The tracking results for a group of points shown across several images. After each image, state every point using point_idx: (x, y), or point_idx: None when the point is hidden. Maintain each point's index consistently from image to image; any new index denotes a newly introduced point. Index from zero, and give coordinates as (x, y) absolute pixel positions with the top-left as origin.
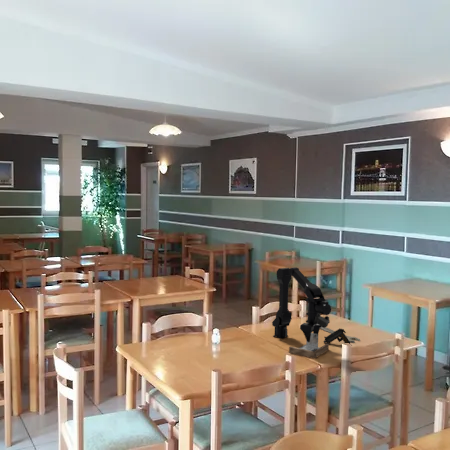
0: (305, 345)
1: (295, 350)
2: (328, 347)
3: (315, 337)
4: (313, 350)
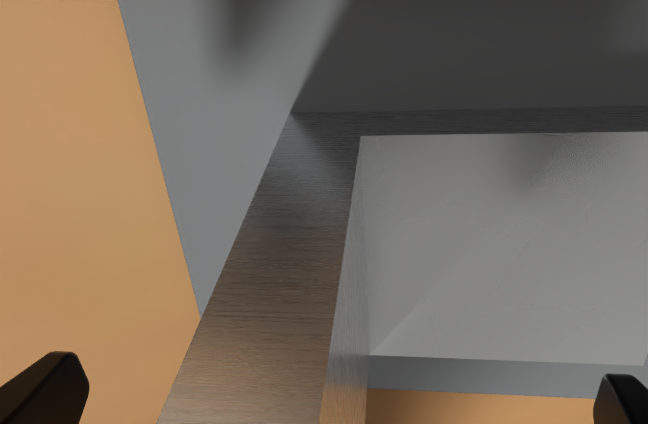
0: None
1: None
2: None
3: (339, 389)
4: (573, 122)
